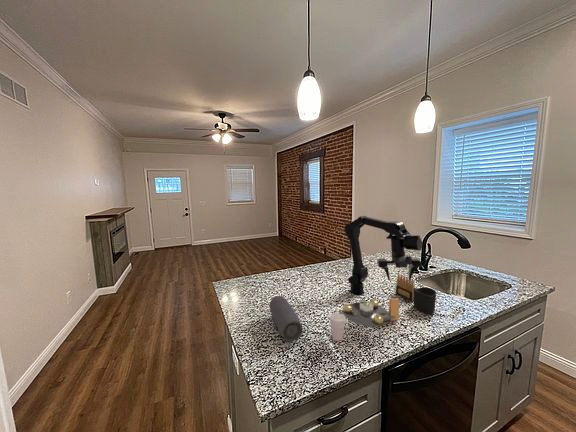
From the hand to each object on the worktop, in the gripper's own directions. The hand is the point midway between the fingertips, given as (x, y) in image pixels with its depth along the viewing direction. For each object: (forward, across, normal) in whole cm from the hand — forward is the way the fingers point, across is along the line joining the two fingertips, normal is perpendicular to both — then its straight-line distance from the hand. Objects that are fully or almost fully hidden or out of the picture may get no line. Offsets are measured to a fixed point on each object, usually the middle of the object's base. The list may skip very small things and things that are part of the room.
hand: (399, 280), depth 118 cm
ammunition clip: (+14, +5, +14) cm, 20 cm away
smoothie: (+14, -29, -31) cm, 45 cm away
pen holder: (+15, +10, +1) cm, 18 cm away
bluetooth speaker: (+12, -51, -27) cm, 59 cm away
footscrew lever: (+13, -9, -15) cm, 22 cm away
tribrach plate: (+14, -17, -10) cm, 24 cm away
